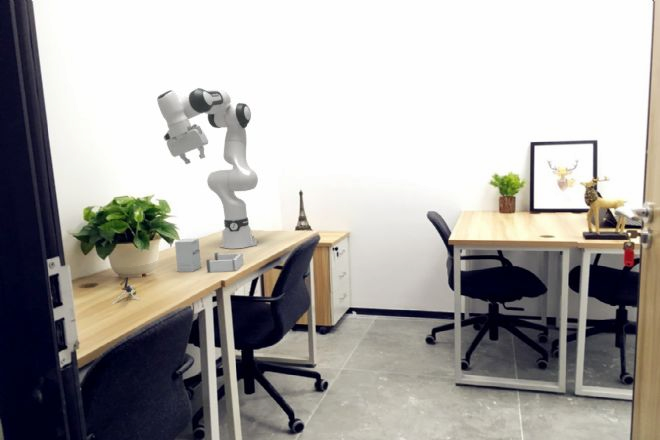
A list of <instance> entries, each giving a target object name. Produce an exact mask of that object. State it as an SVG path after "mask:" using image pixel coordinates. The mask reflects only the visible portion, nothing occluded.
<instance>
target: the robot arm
mask: <svg viewBox="0 0 660 440" xmlns="http://www.w3.org/2000/svg"><path fill="white" fill-rule="evenodd" d="M156 101H157V105H158V108H159V110H160V112H161V115H162V117H163V119H164V120H165V121H166V124H167V128H168V131H166V133H165V135H163V139H164V141H166V146H167V148H168V151H169V152H170V154H171V156H172V157H173V158H177V157H178V156H179V157H180V159H181V161H184V164H185V165H189V164H191V160H190V158H187V156H186V155H187V154H186V153H189V152H192V151H193V150H196V149H197V150H198V151H199V155H198V157H199V158H200V160H203V159H205V158H206V155H205V147H204V146H206V145H208V144H209V139H208V137H207V135H206V134H205V132H204V131H203V129H202V128H201V126H200V125H199V124H196V123H194V124H193V125H191V122H190V119H192V118H194V117H197V116H199V115H201V114H206V115H207V120H208V123H209V125H210V126H211V127H212V128H215V129H220V128H221V129H222V128H226V133H225V139H224V146H223V159H224V161H225V162H226V163H227V164H229V165H231V166H232V169H220V170H216V171H212V172H210V173H209V175H208V176H207V180H206V181H207V185H208V188H209V189H210V190H211V191H212V192H213V193H215V194H216V195H217V196H218V198H219V199H220V201H221V204H222V206H223V207H222V208H223V214H224V219H223V224H224V228H223V230H222V233H221V234H222V244H220V245H219V247H220V248H225V249H243V248H249V247H253V246H254V247H255V246H257V245H258V241H257V238H254V235H253V233H252V229H251V227H250V226H249V218H248V216H247V215H248V214H247V213H248V212H247V205H246V202H245V201H244V199H243V200H242V198H239V197H238V196H236V194H235V193H236V192H247V191H250V190H254V189H255V188H256V187H257V185H258V182H259V178H258V175H257V173H256V172H255V171H254V169H252V168H251V167H250V166H249V165H248V162H247V142H248V141H247V131H246V128H247V126H248V125H249V124H250V121H251V118H252V113H251V109H250V107H249V105H248V104H246V103H244V102H243V103H242V102H238V103H231V102H232V101H231V97H230V95H229V93H228V92H227V91H225V90H222V89H210V90H205V89H203V88H201V87H198V88H195V89H194V90H192V91H190V92H188V93H186V94H184V95H181V96H180V95H177V94H176V92H175V91H174V90H173V89H172V90H167V91H165V92H163V93H161V94H159V95H158V97H157V98H156Z"/></svg>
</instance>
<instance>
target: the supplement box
mask: <svg viewBox="0 0 660 440" xmlns="http://www.w3.org/2000/svg"><path fill="white" fill-rule="evenodd" d="M174 244H175V245H174V247H175V256H176V266H177V272H178V273H181V272H182V273H184V272H186V273H187V272H188V273H189V272H190V273H193V272H195V271H196V270H199V269H201V268H202V262H201V260H202V259H201V249H200V240H199V238H184V239H181V240H177V241H175V242H174Z"/></svg>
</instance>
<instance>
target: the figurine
mask: <svg viewBox="0 0 660 440" xmlns="http://www.w3.org/2000/svg"><path fill="white" fill-rule="evenodd" d="M128 282H129V277H128V276H125V278H124V279H123V280H122V281H121V282H120V283H119V285H120V286H123V284H124V287H121V290H122V291H124V292H123V293H122V294H120V295H119V296H118V297H117V299H116V300H115V301H114V302H112V303H111V305H114V304H116V303H117V302H119V301H120V298H122V297H123V296H124V295H125V294H127V293H128V295H130V296H132V298H134V299H135V300H137V301H141V299H140V298H138V297H137V296H135V295H136V294H137V292H138V291H137V290H138V289H137V290H136V288H135V287H134V285H128Z"/></svg>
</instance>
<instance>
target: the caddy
mask: <svg viewBox="0 0 660 440" xmlns="http://www.w3.org/2000/svg"><path fill="white" fill-rule="evenodd" d="M213 255H214V260H211V259H210V258H208V259H206V260H205V261H206V271H207V273H222V272H226V273H227V272H237V271H238V270H239V269H240V268H241V267H242V266H243V265H244V255H243V252H239V253H237V252H236V253H220V254H219V252H214V254H213Z"/></svg>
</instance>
